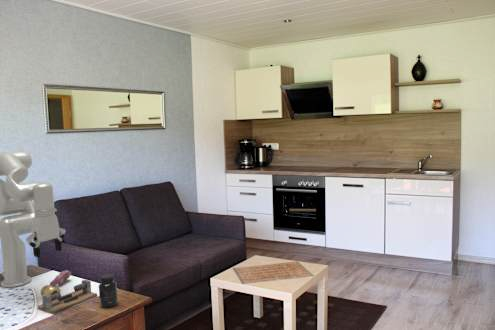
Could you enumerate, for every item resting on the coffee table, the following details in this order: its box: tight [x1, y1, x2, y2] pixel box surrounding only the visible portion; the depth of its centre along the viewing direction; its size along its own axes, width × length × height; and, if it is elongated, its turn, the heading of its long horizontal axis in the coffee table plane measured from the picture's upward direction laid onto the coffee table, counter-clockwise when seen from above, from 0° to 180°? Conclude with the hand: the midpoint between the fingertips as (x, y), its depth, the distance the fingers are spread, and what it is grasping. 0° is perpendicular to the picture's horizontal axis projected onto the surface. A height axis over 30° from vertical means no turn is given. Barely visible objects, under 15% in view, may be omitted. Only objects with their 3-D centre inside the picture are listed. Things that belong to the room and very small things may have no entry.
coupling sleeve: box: [40, 284, 61, 296], centre depth 185 cm, size 6×5×5 cm
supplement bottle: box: [98, 273, 119, 309], centre depth 175 cm, size 7×7×12 cm
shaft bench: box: [37, 279, 98, 316], centre depth 179 cm, size 11×20×6 cm, turn 148°
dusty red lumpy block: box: [49, 269, 72, 287], centre depth 202 cm, size 10×5×7 cm, turn 169°
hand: (48, 253), depth 183 cm, fingers open, 9 cm apart
